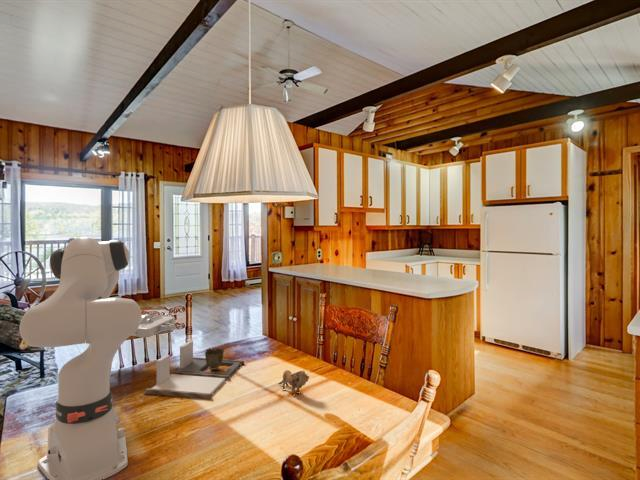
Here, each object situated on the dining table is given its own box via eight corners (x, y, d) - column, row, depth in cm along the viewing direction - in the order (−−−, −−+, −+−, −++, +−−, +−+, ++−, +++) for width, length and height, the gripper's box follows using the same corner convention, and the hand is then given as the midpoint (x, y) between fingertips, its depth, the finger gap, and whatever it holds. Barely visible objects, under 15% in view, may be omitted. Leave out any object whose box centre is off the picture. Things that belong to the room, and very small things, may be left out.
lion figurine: (311, 396, 125) (311, 370, 125) (299, 401, 121) (300, 374, 121) (283, 383, 135) (284, 359, 135) (272, 387, 131) (273, 363, 131)
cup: (220, 373, 143) (220, 353, 143) (202, 372, 143) (202, 353, 143) (225, 366, 151) (226, 347, 151) (208, 366, 151) (208, 347, 151)
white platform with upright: (225, 380, 136) (225, 355, 136) (209, 396, 122) (209, 368, 122) (171, 376, 139) (171, 351, 138) (150, 391, 125) (150, 364, 125)
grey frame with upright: (240, 364, 153) (241, 342, 152) (228, 377, 139) (229, 352, 139) (192, 361, 156) (192, 338, 155) (176, 373, 142) (176, 348, 142)
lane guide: (244, 364, 154) (244, 360, 154) (210, 399, 121) (210, 394, 121) (191, 360, 157) (191, 357, 157) (145, 393, 124) (145, 389, 124)
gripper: (126, 324, 141) (159, 326, 139) (157, 312, 161) (185, 314, 159) (126, 340, 141) (158, 342, 139) (156, 326, 161) (185, 328, 160)
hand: (173, 327), depth 150 cm, fingers closed
